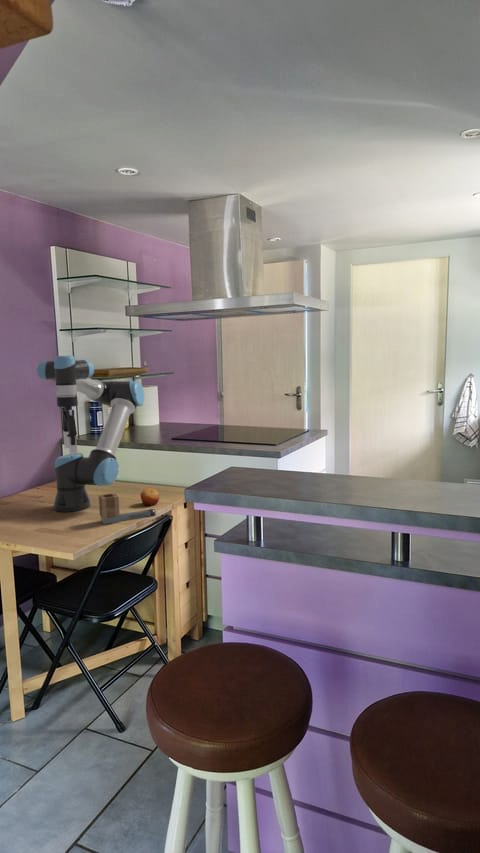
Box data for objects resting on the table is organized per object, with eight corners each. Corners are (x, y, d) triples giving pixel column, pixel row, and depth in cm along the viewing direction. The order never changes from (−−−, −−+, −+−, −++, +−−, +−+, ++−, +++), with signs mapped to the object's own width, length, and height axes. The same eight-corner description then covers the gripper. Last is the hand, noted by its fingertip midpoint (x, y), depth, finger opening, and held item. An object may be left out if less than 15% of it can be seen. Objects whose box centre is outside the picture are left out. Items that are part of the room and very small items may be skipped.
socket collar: (99, 514, 214) (98, 495, 213) (115, 512, 217) (114, 492, 216) (103, 518, 208) (101, 498, 207) (119, 516, 211) (118, 496, 210)
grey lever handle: (100, 521, 214) (99, 504, 213) (153, 512, 223) (152, 496, 222) (103, 524, 209) (102, 507, 208) (157, 516, 218) (156, 499, 217)
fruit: (149, 496, 243) (154, 483, 239) (159, 508, 239) (164, 495, 235) (134, 500, 237) (139, 486, 233) (143, 512, 233) (148, 498, 229)
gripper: (52, 394, 217) (56, 446, 220) (61, 398, 194) (65, 456, 197) (72, 393, 220) (75, 444, 223) (82, 397, 198) (86, 454, 200)
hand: (70, 450), depth 210 cm, fingers open, 13 cm apart
